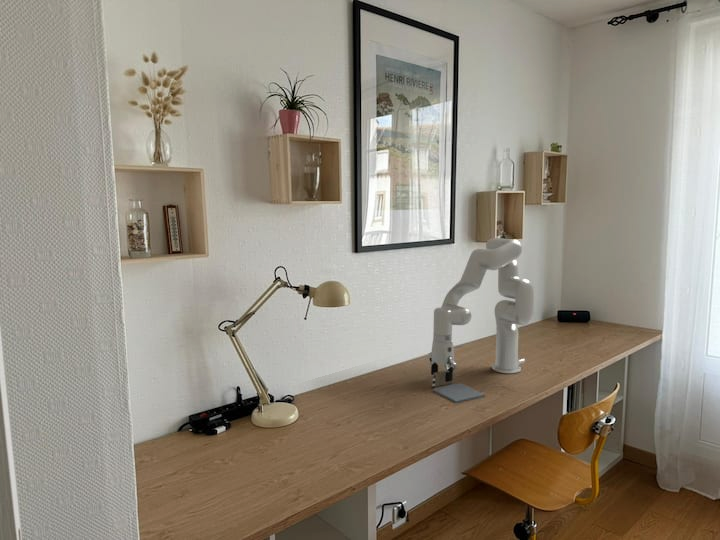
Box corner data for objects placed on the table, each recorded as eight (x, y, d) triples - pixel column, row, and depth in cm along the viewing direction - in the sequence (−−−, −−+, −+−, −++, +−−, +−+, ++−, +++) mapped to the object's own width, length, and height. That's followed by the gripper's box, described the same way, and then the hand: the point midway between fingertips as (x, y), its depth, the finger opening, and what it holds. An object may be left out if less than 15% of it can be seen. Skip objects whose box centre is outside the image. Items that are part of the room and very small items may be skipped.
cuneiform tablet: (433, 375, 204) (457, 371, 209) (427, 372, 207) (451, 368, 213) (432, 389, 205) (456, 384, 210) (427, 386, 208) (450, 381, 213)
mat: (460, 384, 209) (460, 382, 209) (484, 396, 196) (485, 394, 196) (432, 390, 202) (432, 388, 202) (456, 403, 189) (456, 401, 189)
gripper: (463, 341, 203) (462, 382, 205) (437, 332, 218) (436, 370, 220) (448, 343, 200) (447, 385, 202) (422, 334, 215) (422, 373, 217)
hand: (441, 377), depth 211 cm, fingers open, 9 cm apart
